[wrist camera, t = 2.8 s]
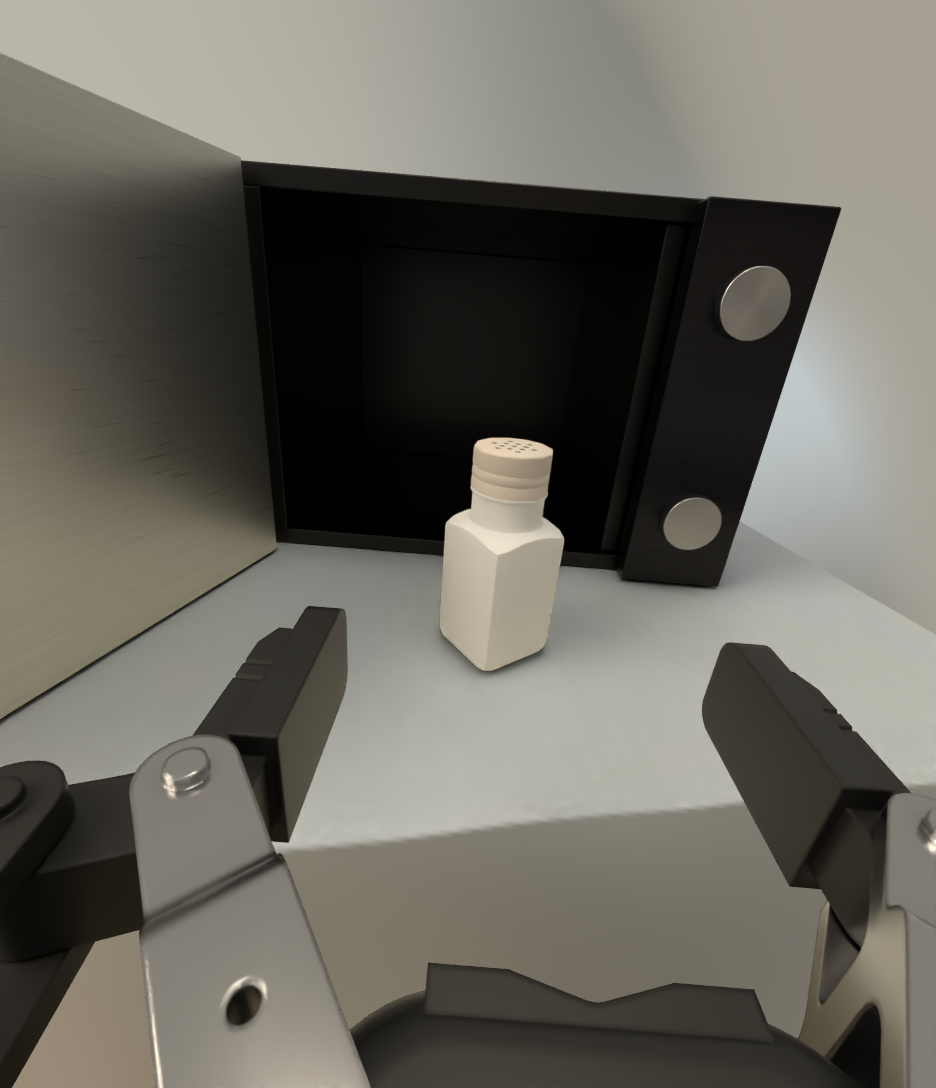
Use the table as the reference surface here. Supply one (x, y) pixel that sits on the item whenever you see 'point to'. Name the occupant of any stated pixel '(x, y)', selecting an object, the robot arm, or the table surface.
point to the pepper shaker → (501, 557)
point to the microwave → (522, 355)
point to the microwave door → (118, 378)
